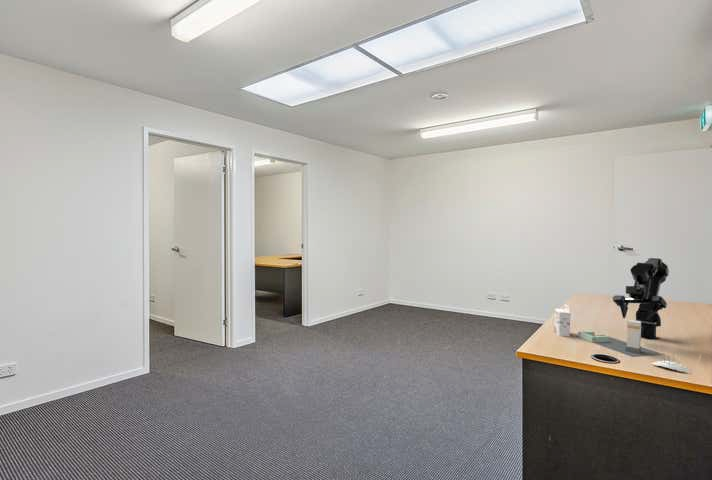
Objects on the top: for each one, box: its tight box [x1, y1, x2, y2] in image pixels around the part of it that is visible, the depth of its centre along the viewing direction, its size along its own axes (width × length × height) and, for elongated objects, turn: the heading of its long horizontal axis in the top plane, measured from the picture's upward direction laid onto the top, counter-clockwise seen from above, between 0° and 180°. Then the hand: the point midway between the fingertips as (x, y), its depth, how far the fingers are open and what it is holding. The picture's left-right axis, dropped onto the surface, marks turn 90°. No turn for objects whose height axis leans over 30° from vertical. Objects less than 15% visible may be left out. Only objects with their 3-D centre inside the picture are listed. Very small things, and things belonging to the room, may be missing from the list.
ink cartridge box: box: [553, 303, 571, 337], centre depth 189 cm, size 9×5×15 cm, turn 168°
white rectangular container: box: [626, 319, 642, 354], centre depth 163 cm, size 5×5×12 cm
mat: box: [574, 334, 666, 358], centre depth 172 cm, size 16×30×1 cm, turn 13°
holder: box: [577, 330, 610, 344], centre depth 180 cm, size 9×9×2 cm
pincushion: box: [651, 355, 692, 375], centre depth 143 cm, size 12×6×6 cm, turn 36°
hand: (635, 318), depth 170 cm, fingers open, 9 cm apart
